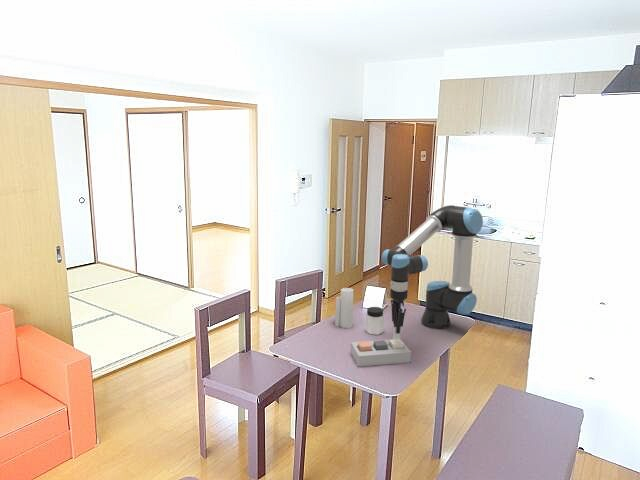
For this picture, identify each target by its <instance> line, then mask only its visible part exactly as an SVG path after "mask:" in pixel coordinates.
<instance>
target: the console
mask: <svg viewBox="0 0 640 480" xmlns="http://www.w3.org/2000/svg"><path fill="white" fill-rule="evenodd" d="M381 340H382V339H379V340H378V339H376V341H381ZM383 340H384V341H385V342H386V343H387V345H388V350H376V349H375V348H374V341H375V340H366V341H364V340H363V342H368V341H369V343H370V344H371V346H372V351H364V352H360V351H359V349H358V342H359V341H355V342H354V341H352V342H350V354H351V356H352V358H353V359H354V361H355V363H356V364H357V366H358V367H359V368H361V367H369V366H370V367H371V366H382V365H393V364H394V365H395V364H406V363H407V364H408V363H412V351H411V349H410V348H409V347H408V346H407V345H406V344H405V343H404V341H403V340H402V339H401V338H400V340H401V341H402V342H403V343H404V348H402V349H392V348H391V347H390V346H389V340H394V339H393V338H391V339H383Z"/></svg>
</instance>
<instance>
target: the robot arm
mask: <svg viewBox="0 0 640 480" xmlns="http://www.w3.org/2000/svg"><path fill="white" fill-rule="evenodd" d="M483 223H484V220H483V215H482V213H481V212H480V211H479V210H478V209H476V208H473V207H469V206H468V207H467V206H458V205H452V204H451V205H446V206H443V207H440V208H438V209H435V211H433V212H431V213H430V214H429V215H427V216H426V218H425V221H424V222H423V223H421V224H420V225H419V226H418V227H417V228H416V229H414V231H412V232H411V233H410V234H409V235H408V236H406V237H405V238H404V239H403V240H402V241H401V242H400V243H399V244H397V245H396V246H395V247H394V248H393V249H390V248H389V249H385V250H384V251H383V252H382V253H381V262H382V264H385V265H387V266H389V267H391V268H390V269H391V272H390V273H391V274H390V277H391V278H390V282H389V285H390V292H389V293H390V294H389V295H390V296H389V297H390V298H391V300H390V304H391V322H392V324H393V333H392V339H394V340H398V339H401V328H402V327H403V326H404V321H405V315H406V312H407V309H406V308H405V302H404V300H407V299H408V293H409V292H408V290H409V276H410V275H412V274H413V275H414V274H417V273H418V274H419V273H422V272H425V271H426V270H427V269H428V268H429V261H428V259H427V257H426V256H424V255H422V254H421V255H419V254H418V255H412V254H414V253H415V252H416V251H417V250H418V249H419V248H420V247H421V246H422V245H423V244H425V242H427V241H428V240H429V239H431V237H433V235H435V234H436V233H438V232H441V231H442V230H444V229H451V235H452V236H453V237H454V246H453V247H454V248H453V263H452V274H451V275H452V277H451V283H450V282H449V281H445V280H435V281H430V282H429V283H427V285H426V289H425V290H426V291H425V292H426V294H425V307H424V311H423V314H422V316H421V319H420V320H421V325H423V326H424V327H427V328H429V329H431V328H432V329H439V330H441V329H446V328H449V327H450V326H451V318H450V314H449V311H451V312H454V313H456V314H459V315H462V316H465V315H466V316H467V315H469V314H471V313H472V312H473V311H474V309H475V307H476V305H477V301H478V298H477V295H476V294H475V293H473V286H471V283H470V282H471V271H472V256H473V245H474V244H473V242H474V239H475V238H476V236H477V234H479V233H480V231H481V230H482V228H483V225H484V224H483Z"/></svg>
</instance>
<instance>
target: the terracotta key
mask: <svg viewBox="0 0 640 480" xmlns="http://www.w3.org/2000/svg"><path fill="white" fill-rule="evenodd" d="M367 341H368V342H364V341H357V342H358V349H359V351H360V352H364V351H372V346H371V344H370V343H369V341H370V340H367Z"/></svg>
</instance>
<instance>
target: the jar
mask: <svg viewBox="0 0 640 480" xmlns="http://www.w3.org/2000/svg"><path fill="white" fill-rule="evenodd" d="M384 320H385V314H384V309H383V308H382V307H378V306H370V307H368V308H367V309H366V314H365V331H366V332H367V334H370V335H375V336H376V335H377V336H378V335H380V334H382V333H383V332H384V325H385V321H384Z"/></svg>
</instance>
